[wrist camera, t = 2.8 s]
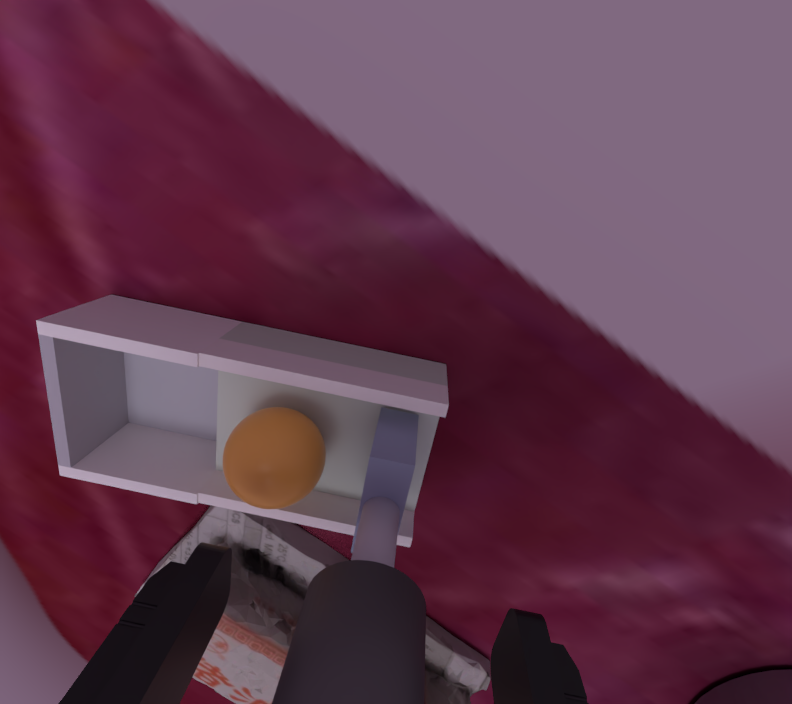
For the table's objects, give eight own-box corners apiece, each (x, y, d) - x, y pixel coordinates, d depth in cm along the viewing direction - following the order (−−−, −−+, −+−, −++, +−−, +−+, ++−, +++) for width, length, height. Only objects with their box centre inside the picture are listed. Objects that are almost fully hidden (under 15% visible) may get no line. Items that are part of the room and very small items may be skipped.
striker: (440, 419, 15) (448, 794, 6) (417, 502, 17) (396, 907, 7) (360, 402, 15) (242, 749, 6) (345, 487, 17) (232, 870, 7)
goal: (242, 321, 17) (197, 353, 14) (236, 451, 20) (196, 504, 16) (111, 294, 17) (35, 320, 14) (121, 427, 20) (60, 475, 16)
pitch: (446, 364, 17) (449, 405, 14) (414, 488, 19) (410, 547, 16) (242, 321, 17) (199, 352, 14) (236, 451, 20) (198, 502, 16)
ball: (341, 400, 16) (316, 456, 13) (329, 474, 17) (304, 541, 14) (250, 381, 16) (202, 432, 13) (245, 456, 17) (201, 520, 14)
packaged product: (510, 761, 19) (375, 825, 23) (496, 653, 24) (385, 720, 27) (181, 553, 16) (80, 664, 20) (236, 473, 21) (146, 574, 24)
